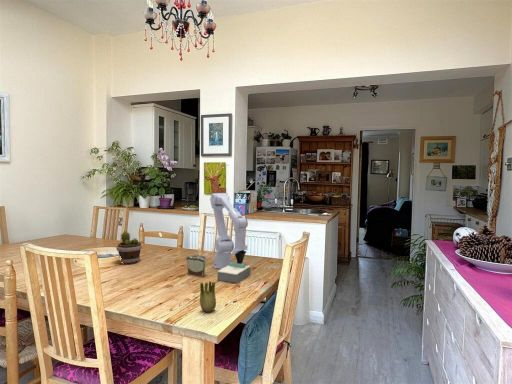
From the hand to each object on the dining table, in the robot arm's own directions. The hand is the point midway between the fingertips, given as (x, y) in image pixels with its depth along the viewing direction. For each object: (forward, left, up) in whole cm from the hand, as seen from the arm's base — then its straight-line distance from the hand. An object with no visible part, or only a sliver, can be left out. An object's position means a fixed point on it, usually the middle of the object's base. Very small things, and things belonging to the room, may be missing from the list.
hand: (239, 264), depth 176 cm
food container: (-20, -10, -6) cm, 23 cm away
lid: (0, -6, -1) cm, 6 cm away
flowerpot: (-71, -9, -6) cm, 72 cm away
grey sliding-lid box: (0, -6, -6) cm, 8 cm away
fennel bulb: (+10, -47, -6) cm, 49 cm away
